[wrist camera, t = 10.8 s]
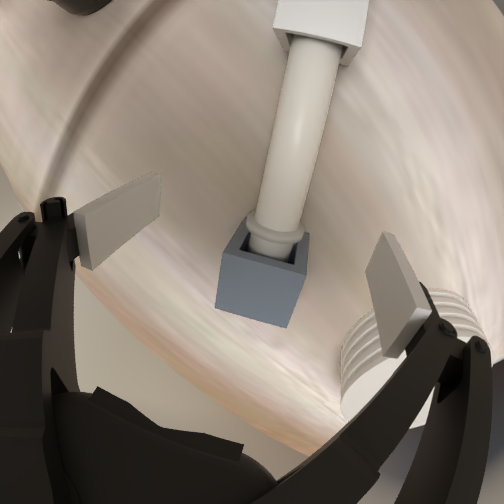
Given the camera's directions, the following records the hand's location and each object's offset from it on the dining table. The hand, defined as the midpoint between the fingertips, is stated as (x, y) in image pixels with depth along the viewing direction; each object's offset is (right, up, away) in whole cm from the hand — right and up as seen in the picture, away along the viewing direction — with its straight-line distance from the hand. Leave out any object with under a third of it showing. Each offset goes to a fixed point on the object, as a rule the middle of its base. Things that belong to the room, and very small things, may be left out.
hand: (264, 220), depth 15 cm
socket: (+2, -1, +24) cm, 24 cm away
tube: (+4, +10, +14) cm, 18 cm away
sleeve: (+8, +28, +7) cm, 30 cm away
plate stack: (+29, -20, +28) cm, 45 cm away
